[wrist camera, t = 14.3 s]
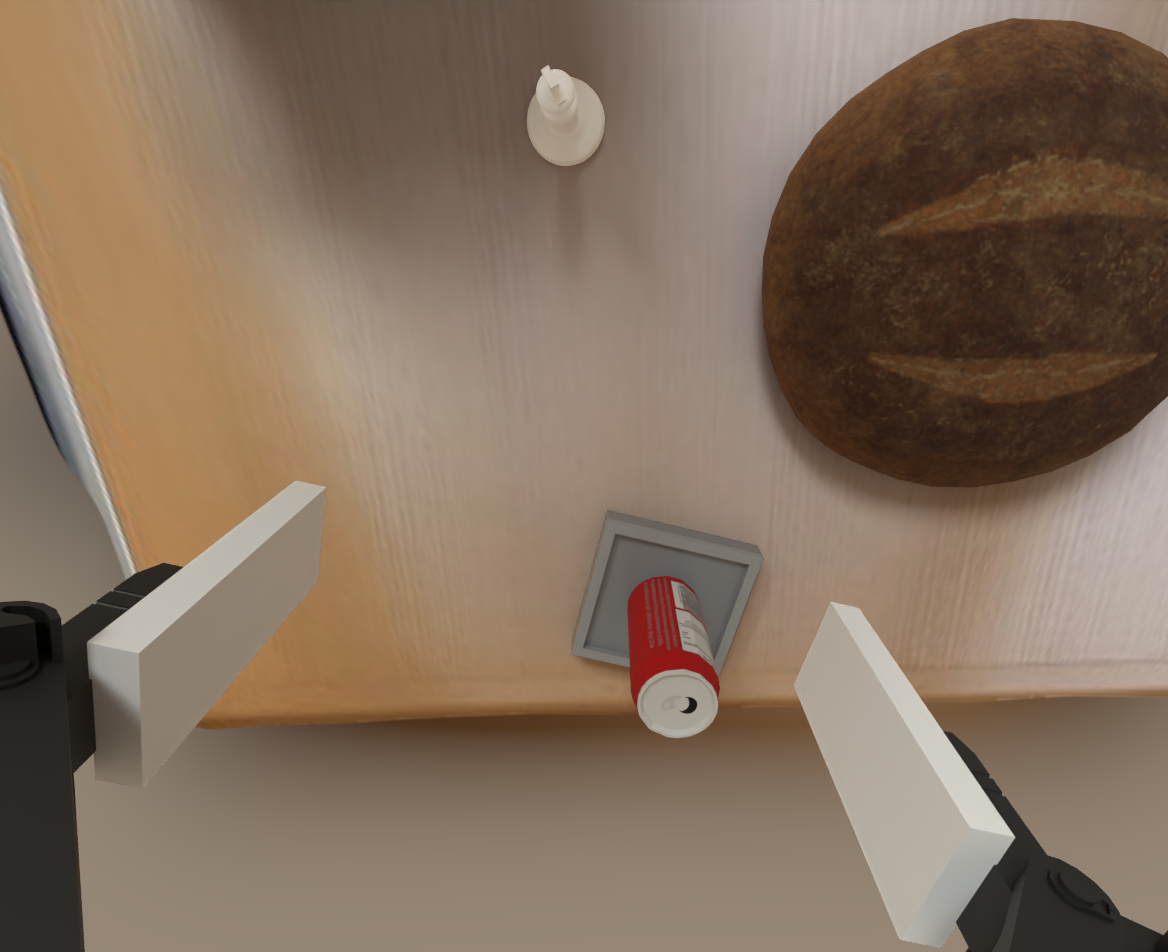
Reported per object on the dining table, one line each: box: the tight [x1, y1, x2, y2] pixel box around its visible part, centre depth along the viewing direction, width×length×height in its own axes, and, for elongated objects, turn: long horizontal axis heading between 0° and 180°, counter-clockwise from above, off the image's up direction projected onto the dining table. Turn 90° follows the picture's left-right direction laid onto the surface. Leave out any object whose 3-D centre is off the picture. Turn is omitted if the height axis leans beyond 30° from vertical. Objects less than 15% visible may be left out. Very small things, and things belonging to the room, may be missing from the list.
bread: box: [762, 18, 1168, 487], centre depth 38 cm, size 28×27×9 cm
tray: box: [571, 511, 763, 677], centre depth 49 cm, size 12×12×2 cm
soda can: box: [627, 576, 720, 738], centre depth 43 cm, size 6×6×12 cm
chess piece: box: [527, 65, 605, 166], centre depth 35 cm, size 5×5×10 cm
